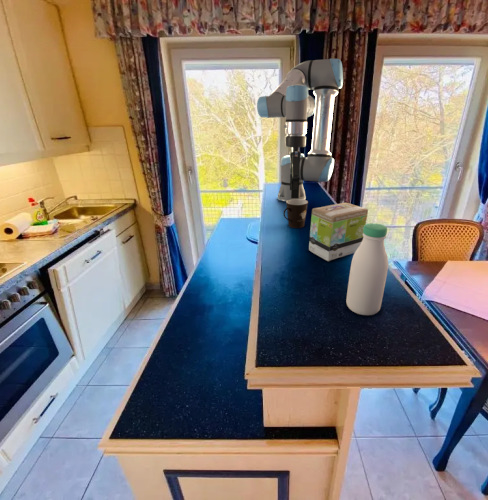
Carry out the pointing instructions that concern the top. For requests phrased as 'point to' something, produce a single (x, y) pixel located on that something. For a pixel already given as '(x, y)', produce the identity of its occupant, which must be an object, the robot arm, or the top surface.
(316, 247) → the tea box
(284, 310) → the top surface
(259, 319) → the top surface
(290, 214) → the coffee mug
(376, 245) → the milk bottle
